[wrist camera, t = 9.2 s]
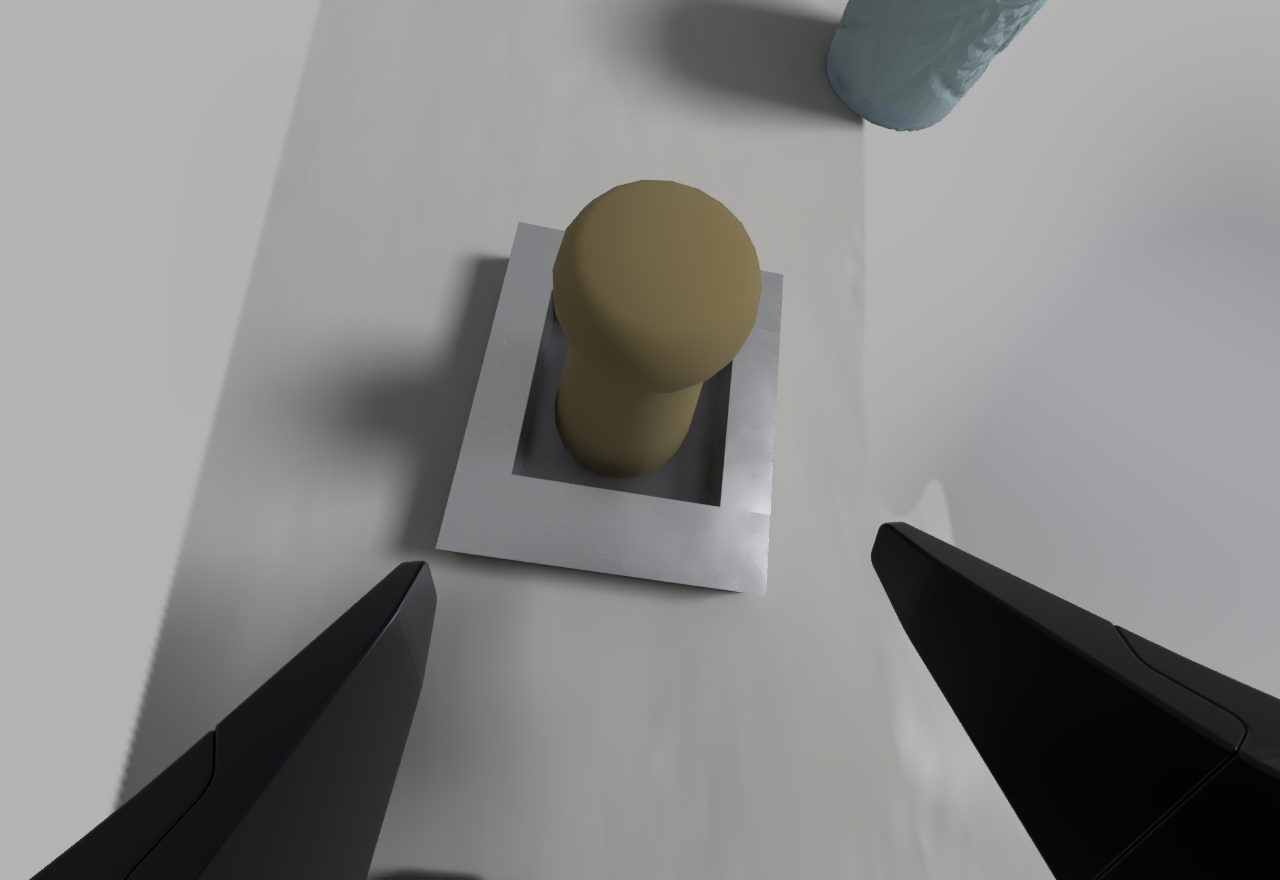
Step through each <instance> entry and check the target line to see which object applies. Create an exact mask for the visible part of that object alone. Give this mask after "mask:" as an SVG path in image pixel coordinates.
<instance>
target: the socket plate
mask: <svg viewBox="0 0 1280 880" xmlns="http://www.w3.org/2000/svg"><path fill="white" fill-rule="evenodd" d="M564 234H565V231H561V230H556V229H551V228H546V227H541V226H536V225H531V224H526V223H521V222H519V223H518V227H517V231H516V235H515V239H514V243H513V247H512V251H511V255H510V259H509V262H508V266H507V270H506V274H505V278H504V282H503V286H502V290H501V294H500V298H499V302H498V306H497V310H496V313H495V317H494V321H493V325H492V329H491V333H490V337H489V341H488V345H487V349H486V353H485V357H484V361H483V364H482V368H481V372H480V376H479V380H478V384H477V388H476V392H475V396H474V400H473V404H472V408H471V412H470V415H469V419H468V423H467V427H466V431H465V435H464V439H463V443H462V447H461V451H460V455H459V459H458V463H457V466H456V470H455V474H454V478H453V482H452V486H451V490H450V494H449V498H448V502H447V506H446V510H445V514H444V517H443V521H442V525H441V529H440V533H439V537H438V541H437V545H436V549H440V550H446V551H452V552H459V553H466V554H473V555H480V556H487V557H494V558H501V559H508V560H516V561H523V562H530V563H537V564H544V565H551V566H558V567H565V568H572V569H579V570H586V571H593V572H601V573H608V574H615V575H622V576H629V577H636V578H643V579H650V580H657V581H664V582H671V583H678V584H686V585H693V586H700V587H707V588H714V589H721V590H728V591H735V592H742V593H750V594H758V595H766V583H767V564H768V546H769V527H770V509H771V490H772V472H773V453H774V435H775V416H776V397H777V379H778V360H779V342H780V323H781V305H782V286H783V275H781V274H776V273H771V272H766V271H761V270H760V274H761V280H762V291H761V296H760V301H759V307H758V312H757V317H756V321H755V325H754V328H753V329H752V331H751V333H750V334H749V336H748V338H747V339H746V341H745V343H744V344H743V346H742V347H741V349H740V351H739V352H738V353H737V355H736V356H735V357H734V359H733V360H732V361H731V362H730V363H729V364H727V365H726V366H725V367H724V368H722V369H721V370H720V371H718V372H717V373H716V374H715V375H713V376H712V377H711V378H710V379H708V380H706V381H704V382H703V385H702V388H701V391H700V395H699V398H698V401H697V404H696V408H695V411H694V414H693V417H692V421H691V424H690V427H689V430H688V434H687V437H686V439H685V441H684V443H683V444H682V446H681V447H680V449H679V451H678V452H677V454H676V456H674V457H673V458H672V459H671V460H670V461H668V462H667V463H666V464H665V465H664V466H662V467H661V468H660V469H658V470H656V471H653V472H650V473H648V474H645V475H643V476H640V477H626V478H616V477H612V476H608V475H604V474H600V473H596V472H594V471H593V470H591V469H590V468H588V467H586V466H585V465H583V464H582V463H580V462H579V461H577V460H576V459H575V458H574V456H573V455H572V454H571V453H570V452H569V450H568V449H567V448H566V447H565V445H564V444H563V442H562V440H561V437H560V435H559V432H558V429H557V427H556V424H555V400H556V396H557V391H558V387H559V383H560V379H561V375H562V371H563V367H564V362H565V358H566V354H567V350H568V346H569V343H568V342H567V340H566V338H565V335H564V333H563V330H562V328H561V326H560V323H559V321H558V318H557V316H556V313H555V307H554V299H553V271H552V269H553V266H554V263H555V260H556V257H557V254H558V251H559V248H560V245H561V242H562V240H563V237H564Z"/></svg>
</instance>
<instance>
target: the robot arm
mask: <svg viewBox="0 0 1280 880" xmlns="http://www.w3.org/2000/svg"><path fill="white" fill-rule="evenodd" d="M871 561H872V564H873V567H874V569H875V571H876V573H877V575H878V577H879V579H880V581H881V583H882V585H883V587H884V590H885V592H886V594H887V596H888V598H889V600H890V602H891V604H892V606H893V608H894V610H895V612H896V614H897V616H898V618H899V621H900V622H901V624H902V626H903V628H904V630H905V632H906V634H907V635H908V637H909V639H910V641H911V642H912V644H913V646H914V647H915V649H916V651H917V652H918V654H919V656H920V657H921V659H922V660H923V662H924V664H925V665H926V667H927V669H928V670H929V672H930V674H931V675H932V677H933V679H934V680H935V682H936V683H937V685H938V687H939V688H940V690H941V692H942V693H943V695H944V697H945V698H946V700H947V702H948V703H949V705H950V706H951V708H952V710H953V711H954V713H955V715H956V716H957V718H958V720H959V721H960V723H961V724H962V726H963V728H964V729H965V731H966V733H967V734H968V736H969V738H970V739H971V741H972V743H973V744H974V746H975V747H976V749H977V751H978V752H979V754H980V756H981V757H982V759H983V761H984V762H985V764H986V766H987V767H988V769H989V770H990V772H991V774H992V775H993V777H994V779H995V780H996V782H997V784H998V785H999V787H1000V788H1001V790H1002V792H1003V793H1004V795H1005V797H1006V798H1007V800H1008V802H1009V803H1010V805H1011V807H1012V808H1013V810H1014V811H1015V813H1016V815H1017V816H1018V818H1019V820H1020V821H1021V823H1022V825H1023V826H1024V828H1025V830H1026V831H1027V833H1028V834H1029V836H1030V838H1031V839H1032V841H1033V843H1034V844H1035V846H1036V848H1037V849H1038V851H1039V852H1040V854H1041V856H1042V857H1043V859H1044V861H1045V862H1046V864H1047V866H1048V867H1049V869H1050V871H1051V872H1052V874H1053V875H1054V877H1055V879H1056V880H1280V699H1278V698H1276V697H1274V696H1271V695H1269V694H1267V693H1264V692H1262V691H1260V690H1257V689H1255V688H1253V687H1251V686H1248V685H1246V684H1244V683H1241V682H1239V681H1237V680H1235V679H1232V678H1230V677H1228V676H1226V675H1223V674H1221V673H1219V672H1217V671H1214V670H1212V669H1210V668H1208V667H1205V666H1203V665H1201V664H1198V663H1196V662H1194V661H1192V660H1190V659H1187V658H1185V657H1183V656H1181V655H1179V654H1177V653H1174V652H1172V651H1170V650H1168V649H1166V648H1164V647H1162V646H1160V645H1158V644H1155V643H1153V642H1151V641H1149V640H1147V639H1145V638H1143V637H1141V636H1139V635H1137V634H1134V633H1132V632H1130V631H1128V630H1126V629H1124V628H1122V627H1120V626H1117V625H1113V624H1112V623H1111V622H1109V621H1107V620H1105V619H1103V618H1101V617H1099V616H1097V615H1095V614H1093V613H1091V612H1089V611H1087V610H1085V609H1082V608H1080V607H1078V606H1076V605H1074V604H1072V603H1070V602H1068V601H1066V600H1064V599H1062V598H1060V597H1058V596H1056V595H1054V594H1051V593H1049V592H1047V591H1045V590H1043V589H1041V588H1039V587H1037V586H1035V585H1033V584H1031V583H1029V582H1027V581H1025V580H1022V579H1020V578H1018V577H1016V576H1014V575H1012V574H1010V573H1008V572H1006V571H1004V570H1002V569H1000V568H998V567H995V566H993V565H991V564H989V563H987V562H985V561H983V560H981V559H979V558H977V557H975V556H973V555H971V554H969V553H966V552H964V551H962V550H960V549H958V548H956V547H954V546H952V545H950V544H948V543H946V542H944V541H942V540H940V539H938V538H935V537H933V536H931V535H929V534H927V533H925V532H923V531H921V530H919V529H917V528H915V527H913V526H911V525H909V524H907V523H904V522H889V523H884V524H882V525H881V526H880V527H879V530H878V533H877V536H876V539H875V542H874V545H873V548H872V552H871ZM436 603H437V596H436V590H435V587H434V583H433V579H432V576H431V572H430V569H429V566H428V564H427V562H425V561H412V562H404V563H401V564H400V565H399V566H397V567H396V568H395V569H394V570H393V571H392V572H391V573H389V574H388V575H387V576H386V577H385V578H384V579H383V580H381V581H380V582H379V583H378V584H377V585H376V586H375V587H373V588H372V589H371V590H370V591H369V592H368V593H367V594H365V595H364V596H363V597H362V598H361V599H360V600H359V601H358V602H356V603H355V604H354V605H353V606H352V607H351V608H350V609H348V610H347V611H346V612H345V613H344V614H343V615H342V616H340V617H339V618H338V619H337V620H336V621H335V622H334V623H332V624H331V625H330V626H329V627H328V628H327V629H326V630H324V631H323V632H322V633H321V634H320V635H319V636H318V637H317V638H315V639H314V640H313V641H312V642H311V643H310V644H309V645H307V646H306V647H305V648H304V649H303V650H302V651H301V652H299V653H298V654H297V655H296V656H295V657H294V658H293V659H291V660H290V661H289V662H288V663H287V664H286V665H285V666H283V667H282V668H281V669H280V670H279V671H278V672H277V673H276V674H274V675H273V676H272V677H271V678H270V679H269V680H268V681H266V682H265V683H264V684H263V685H262V686H261V687H260V688H258V689H257V690H256V691H255V692H254V693H253V694H252V695H250V696H249V697H248V698H247V699H246V700H245V701H244V702H242V703H241V704H240V705H239V706H238V707H237V708H236V709H235V710H233V711H232V712H231V713H230V714H229V715H228V716H227V717H225V718H224V719H223V720H222V721H221V722H220V723H219V724H217V726H216V728H215V731H214V730H212V731H209V732H208V733H207V734H206V735H205V736H204V737H202V738H201V739H200V740H199V741H198V742H197V743H196V744H194V745H193V746H192V747H191V748H190V749H189V750H188V751H186V752H185V753H184V754H183V755H182V756H181V757H179V758H178V759H177V760H176V761H175V762H174V763H172V764H171V765H170V766H169V767H168V768H167V769H165V770H164V771H163V772H162V773H161V774H160V775H158V776H157V777H156V778H155V779H154V780H152V781H151V782H150V783H149V784H148V785H147V786H145V787H144V788H143V789H142V790H141V791H140V792H138V793H137V794H136V795H135V796H134V797H132V798H131V799H130V800H129V801H127V802H126V803H125V804H124V805H122V806H121V807H120V808H119V809H117V810H116V811H115V812H114V813H112V814H111V815H110V816H109V817H108V818H106V819H105V820H104V821H103V822H101V823H100V824H99V825H98V826H97V827H95V828H94V829H93V830H92V831H90V832H89V833H88V834H86V835H85V836H84V837H83V838H82V839H80V840H79V841H78V842H76V843H75V844H74V845H73V846H71V847H70V848H69V849H68V850H66V851H65V852H64V853H63V854H61V855H60V856H59V857H57V858H56V859H55V860H54V861H52V862H51V863H50V864H49V865H47V866H46V867H45V868H44V869H43V870H41V871H40V872H38V873H37V874H36V875H35V876H34V877H32V878H31V879H30V880H366V878H367V875H368V872H369V868H370V865H371V861H372V858H373V854H374V851H375V847H376V844H377V841H378V837H379V834H380V830H381V827H382V823H383V820H384V817H385V813H386V810H387V806H388V803H389V799H390V796H391V792H392V789H393V786H394V782H395V779H396V775H397V772H398V768H399V765H400V761H401V758H402V755H403V751H404V748H405V744H406V741H407V737H408V734H409V730H410V727H411V724H412V720H413V717H414V713H415V710H416V706H417V703H418V700H419V696H420V692H421V688H422V684H423V679H424V674H425V668H426V662H427V656H428V651H429V645H430V639H431V633H432V627H433V622H434V616H435V610H436Z"/></svg>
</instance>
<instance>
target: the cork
mask: <svg viewBox="0 0 1280 880" xmlns="http://www.w3.org/2000/svg"><path fill="white" fill-rule="evenodd" d="M552 271H553V299H554V307H555V313H556V316H557V318H558V321H559V323H560V326H561V328H562V330H563V333H564V335H565V338H566V340H567V342H568V343H569V346H568V350H567V354H566V358H565V362H564V367H563V371H562V375H561V379H560V383H559V387H558V391H557V396H556V400H555V424H556V427H557V429H558V432H559V435H560V437H561V440H562V442H563V444H564V445H565V447H566V448H567V449H568V450H569V452H570V453H571V454H572V455H573V456H574V458H575V459H576V460H577V461H579V462H580V463H582V464H583V465H585V466H586V467H588V468H590V469H591V470H593V471H594V472H596V473H600V474H604V475H608V476H612V477H616V478H626V477H640V476H643V475H645V474H648V473H650V472H653V471H656V470H658V469H660V468H661V467H662V466H664V465H665V464H666V463H667V462H668V461H670V460H671V459H672V458H673V457H674V456H676V454H677V452H678V451H679V449H680V447H681V446H682V444H683V443H684V441H685V439H686V437H687V434H688V430H689V427H690V424H691V421H692V417H693V414H694V411H695V408H696V404H697V401H698V398H699V395H700V391H701V388H702V385H703V382H704V381H706V380H708V379H710V378H711V377H712V376H713V375H715V374H716V373H717V372H718V371H720V370H721V369H722V368H724V367H725V366H726V365H727V364H729V363H730V362H731V361H732V360H733V359H734V357H735V356H736V355H737V353H738V352H739V351H740V349H741V347H742V346H743V344H744V343H745V341H746V339H747V338H748V336H749V334H750V333H751V331H752V329H753V328H754V325H755V321H756V317H757V312H758V307H759V301H760V296H761V291H762V280H761V274H760V268H759V262H758V257H757V254H756V251H755V248H754V245H753V244H752V242H751V240H750V238H749V236H748V234H747V232H746V230H745V228H744V227H743V225H742V223H741V222H740V221H739V220H738V219H737V218H736V217H735V216H734V215H733V214H732V213H731V212H730V211H729V210H728V209H727V208H726V207H725V206H724V205H723V204H722V203H721V202H719V201H717V200H716V199H714V198H712V197H711V196H709V195H707V194H706V193H704V192H702V191H701V190H699V189H696V188H693V187H690V186H686V185H683V184H679V183H676V182H673V181H658V180H641V181H636V182H632V183H628V184H624V185H620V186H616V187H614V188H612V189H611V190H609V191H607V192H606V193H604V194H602V195H601V196H599V197H597V198H596V199H594V200H593V201H591V202H590V203H589V204H588V205H587V206H586V207H584V208H583V210H582V211H581V212H580V213H579V214H578V216H577V217H576V218H575V219H574V220H573V222H572V223H571V224H570V225H569V226H568V227H567V229H566V231H565V234H564V237H563V240H562V242H561V245H560V248H559V251H558V254H557V257H556V260H555V263H554V266H553V269H552Z"/></svg>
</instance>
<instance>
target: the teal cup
mask: <svg viewBox="0 0 1280 880" xmlns="http://www.w3.org/2000/svg"><path fill="white" fill-rule="evenodd" d="M1047 1H1048V0H849V2H848V3H847V6H846V8H845V10H844V13H843V16H842V19H841V21H840V24H839V26H838V29H837V31H836V34H835V36H834V38H833V41H832V44H831V46H830V49H829V53H828V58H827V73H828V77H829V81H830V83H831V85H832V87H833V89H834V90H835V92H836V94H837V95H838V96H839V97H840V99H841V100H842V101H843V102H844V103H845V104H846V105H847V106H848V107H849V108H850V109H851V110H853V111H854V112H855V113H857V114H858V115H859V116H861V117H863V118H864V119H866V120H867V121H869V122H871V123H873V124H876V125H879V126H883V127H885V128H888V129H895V130H896V131H905V130H908V131H910V132H911V131H913V130H917V131H918V130H920V129H924V128H926V127H930V126H932V125H934V124H935V123H937V122H939V121H941V120H942V119H943V118H944V117H946V116H947V115H948V114H949V113H950V112H951V110H952V109H953V108H954V107H955V106H956V104H957V103H958V102H959V101H960V100H961V98H962V97H963V96H964V95H965V94H966V93H967V92H968V90H969V89H970V88H971V87H972V86H973V85H974V84H975V83H976V82H977V80H978V79H979V78H980V77H981V76H982V74H983V73H984V72H985V70H986V69H987V67H988V65H989V63H990V61H991V60H992V59H993V58H994V56H995V55H996V54H998V53H999V52H1001V51H1003V50H1004V49H1005V48H1006V47H1007V46H1008V45H1009V44H1010V42H1011V41H1012V40H1013V39H1014V38H1015V37H1016V36H1017V35H1018V34H1019V32H1020V31H1021V30H1022V29H1023V27H1024V26H1025V25H1026V24H1027V23H1028V22H1029V21H1030V19H1031V18H1032V17H1033V16H1034V15H1035V14H1036V13H1037V11H1039V10H1040V9H1041V8H1042V7H1043V6H1044V4H1045V3H1046V2H1047Z"/></svg>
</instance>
